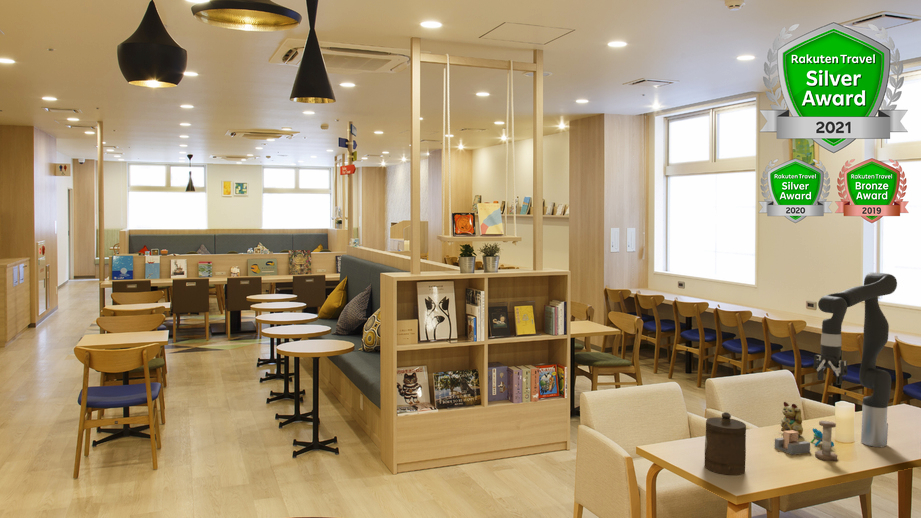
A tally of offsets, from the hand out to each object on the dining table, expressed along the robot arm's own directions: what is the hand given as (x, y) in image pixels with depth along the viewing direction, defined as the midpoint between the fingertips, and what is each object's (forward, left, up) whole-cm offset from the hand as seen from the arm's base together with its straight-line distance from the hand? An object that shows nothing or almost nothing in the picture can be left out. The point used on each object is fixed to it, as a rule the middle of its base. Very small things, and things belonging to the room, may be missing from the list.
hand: (829, 382), depth 271 cm
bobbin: (+5, +4, -30) cm, 31 cm away
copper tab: (+12, -8, -29) cm, 32 cm away
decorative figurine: (-6, -23, -30) cm, 38 cm away
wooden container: (+54, 0, -30) cm, 62 cm away
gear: (-6, -8, -30) cm, 32 cm away
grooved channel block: (+11, -8, -30) cm, 33 cm away
